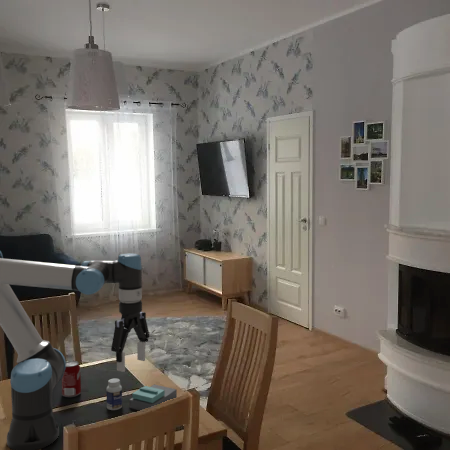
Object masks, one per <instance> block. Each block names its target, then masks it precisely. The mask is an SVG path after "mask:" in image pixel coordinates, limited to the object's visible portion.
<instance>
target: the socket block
mask: <svg viewBox="0 0 450 450" xmlns="http://www.w3.org/2000/svg"><path fill="white" fill-rule="evenodd" d="M150 387H153V388H157V389H162V390H165V395H164V396H162V397H161V398H159V399H158V400H156V401H155V402H153V403H150V402H146V401H141V400H137V399H133V398H132V397H131V398H129V400H128V401H129V409H133V410H137V411H140V410H142V409H145V408H148V407H151V406H154V405H157V404H160V403H162V402H165V401H167V400H170V399H173V398H175V399H176V398H177V397H178V396H177V395H178V394H177V393H178V391H177V390H178V389H176V388H172V387H167V386H163V385H158V384H152V385H151V386H150ZM173 400H174V399H173Z"/></svg>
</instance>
